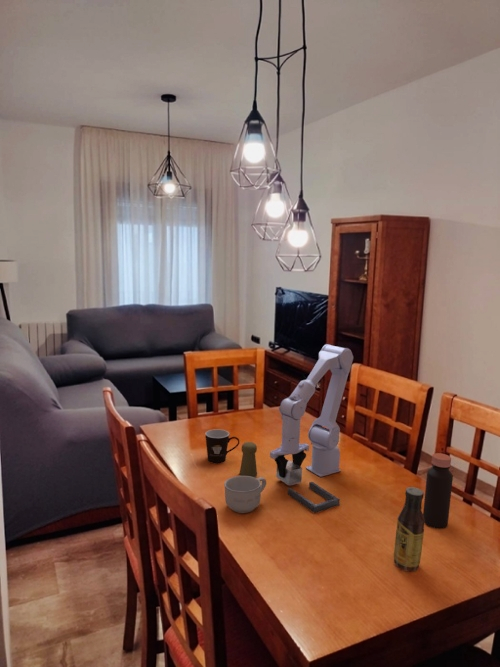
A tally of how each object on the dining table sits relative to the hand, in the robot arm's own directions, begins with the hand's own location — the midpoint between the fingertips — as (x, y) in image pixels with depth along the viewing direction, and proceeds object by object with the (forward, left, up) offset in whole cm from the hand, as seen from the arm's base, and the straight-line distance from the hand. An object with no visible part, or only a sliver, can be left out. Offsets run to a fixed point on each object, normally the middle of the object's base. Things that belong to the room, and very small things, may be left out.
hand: (288, 474), depth 160 cm
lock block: (0, 0, -2) cm, 2 cm away
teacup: (+20, +6, -3) cm, 21 cm away
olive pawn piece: (+8, -12, -3) cm, 15 cm away
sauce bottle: (+1, +49, -3) cm, 49 cm away
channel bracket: (0, +12, -3) cm, 12 cm away
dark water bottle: (-22, +40, -3) cm, 46 cm away
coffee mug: (+11, -26, -3) cm, 28 cm away
